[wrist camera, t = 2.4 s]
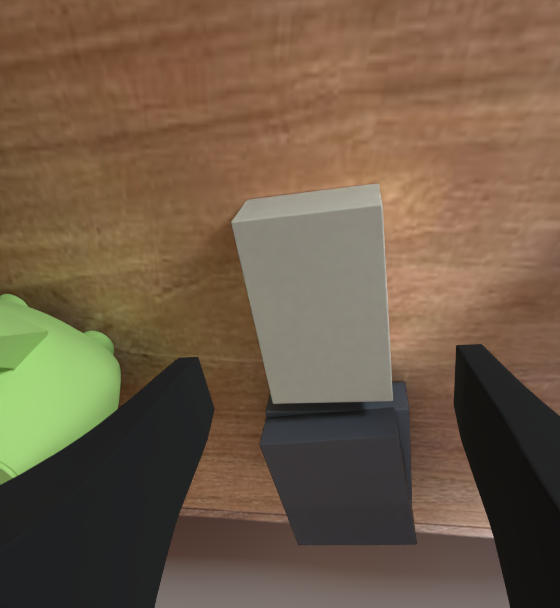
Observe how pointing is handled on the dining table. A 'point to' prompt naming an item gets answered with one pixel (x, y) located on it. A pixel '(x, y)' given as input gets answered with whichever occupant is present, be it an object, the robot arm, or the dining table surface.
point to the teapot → (49, 385)
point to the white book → (319, 293)
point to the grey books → (343, 469)
